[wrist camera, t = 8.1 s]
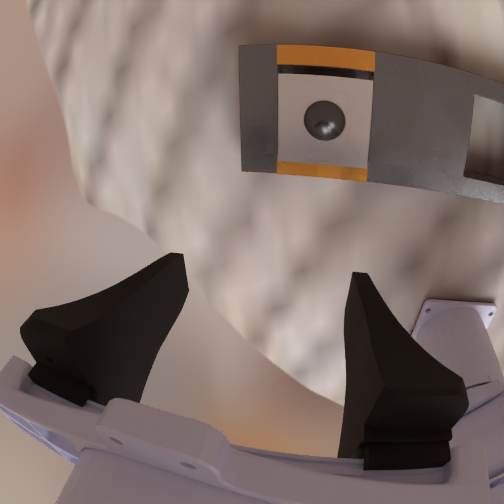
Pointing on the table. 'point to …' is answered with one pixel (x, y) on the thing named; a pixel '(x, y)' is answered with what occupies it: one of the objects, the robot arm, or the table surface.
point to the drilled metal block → (324, 119)
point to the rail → (376, 118)
